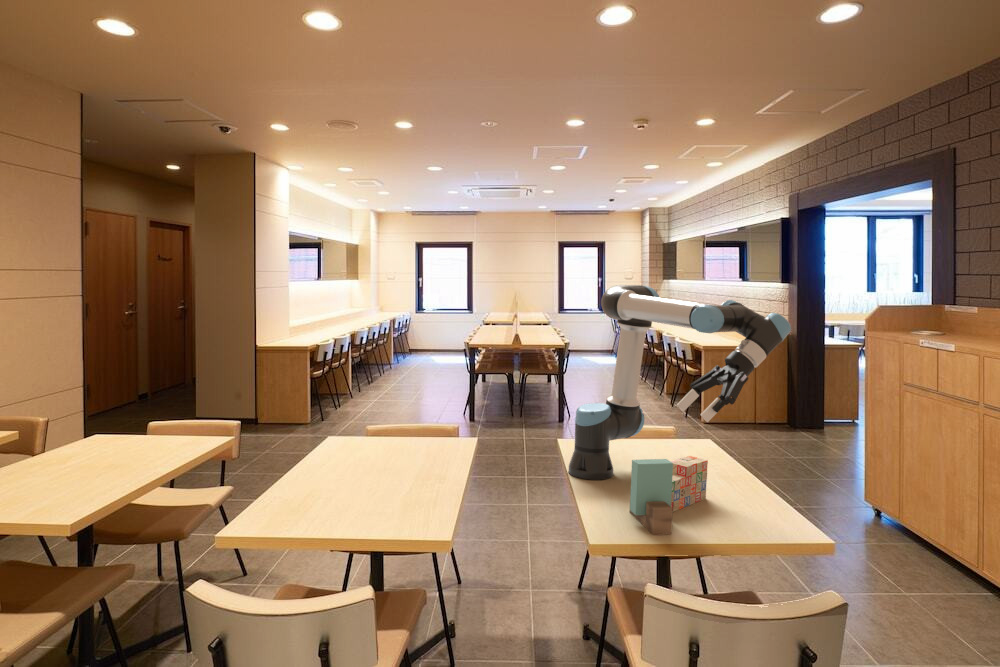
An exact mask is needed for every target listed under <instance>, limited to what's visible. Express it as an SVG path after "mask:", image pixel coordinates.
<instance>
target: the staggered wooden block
mask: <svg viewBox="0 0 1000 667" xmlns="http://www.w3.org/2000/svg"><path fill="white" fill-rule="evenodd" d="M630 495H631V489H630V494H629V496H630ZM629 513H630V514H631V515H632V516H633V517H634V518H635V519H636V520H637V521H638V522H639V523H640V524H641V525H642V526H643V527H644V526H645V527H646V528H647V529H648V530H647V529H646V528H645V527H644V528H645V529H646V530H647V531H649V533H650V534H651V535H653V536H658V535H659V536H660V535H662V536H663V535H671V534H672V526H673V525H672V524H673V512H672V507H671V506H669V505H668V504H667V503H666V502H664V501H656V502H646V515H635V514H634V513H633V512H631V511H630V510H629Z"/></svg>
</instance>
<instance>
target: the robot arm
mask: <svg viewBox="0 0 1000 667" xmlns="http://www.w3.org/2000/svg"><path fill="white" fill-rule="evenodd" d="M600 300H601V301H600V304H601V308H602V311H603V313H604V315H606V316H607V317H608V318H610V319H612V320H616V323H617V325H618V327H620V330H619V331H620V332H619V339H618V346H617V352H616V353H617V354H616V359H615V360H616V361H615V367H614V375H613V383H612V391H611V394H610V395H609V396H608V397H606V402H605V403H602V402H594V403H592V402H591V403H586V404H585V403H584V404H582V405H580V406H578V408H577V409H576V411H575V418H574V449H573V450H574V451H573V452H572V456H571V458H570V461H569V463H568V474H570V475H571V476H573V477H575V478H579V479H584V480H589V481H590V480H599V481H600V480H606V479H610V478H612V477H614V465H613V463H612V459H611V455H610V441H614V440H615V441H616V440H621V439H628V438H631V437H634V436H636V435H638V434H639V433H640V432H641V430H642V429H643V427H644V425H645V414H644V413H643V408H642V407H641V402H640V401H639V400H638V398H637V396H638V389H639V382H640V376H641V368H642V362H643V354H644V349H645V348H644V347H645V342H646V341H645V339H646V333H647V331H648V330H649V329H651V328H652V324H653V323H658V324H663V325H669V326H675V327H680V328H681V327H682V328H686V329H692V330H695V331H697V332H699V333H703V334H704V333H705V334H712V333H732V332H734V333H737V334H739V335H741V336H743V337H745V338H744V339H743V340H741V342H740V344H738V345H737V347H736V348H735V349H734V350H732V351H731V352H730V353H729V354H728V356H726V357H725V358H724V362H725V365H724V366H723V367H721V366H719V365H715V366H714V367H713V368H711V370H710V371H709V370H708V372H707V373H704V375H702V376H701V377H699V378H698V379H696V380H695V381H693V382H691V383H690V385H689V386H690V388H691V389H690V390H689V391H688V392H687V393H686V394H685V395H684V396H683V398H681V399H680V400H679V401H678V402H677V403H676V406H677V407H678V408H679V409H680V410H681V412H685V411H686V410H687V409H688V408H689V407H690V406H691V405H692V404H693V403H694V402H695V401H696V400H697V399H698V398H699V397H700V395H701V393H703V392H706V391H707V390H709V389H712V388H714V387H715V386H721V385H722V388H721V392H720V394H719V395H718V397H716V398H715V399H714V400H713V401H712V402H711V403H710V404H709V405H708V406H707V407H706V408H705V409H704V410H702V412H701V413H700V416H701V418H702V419H703V420H704V421H705V422H706V423H710V420H712V418H713V417H715V415H716V414H718V412H720V411H721V410H722V408H724V407H725V406H727V405H729V404H730V405H731V406H732V405H734V404H735V403H736V401H737V399H738V397H739V395H740V393H741V391H742V389H743V387H744V385H745V384H746V382H747V381H748V380H749V375H751V373H753V371H755V368H757V367H759V366H760V365H761V363H763V362H764V361H765V359H766V358H767V357H768V356H769V355H770V354H771V353H772V352H773V351H774V350H775V349H776V348H777V347H778V346H779V345H781V343H782V342H784V340H785V339H786V337H788V335H789V334H790V333H791V331H792V326H791V323H790V322H789V321H788V319H786V317H784V316H783V315H782V314H780V313H776V312H771V313H769V314H767V315H766V316H764V315H761V314H760V313H758V312H756V311H754V310H752V309H750V308H749V307H747V306H745V305H744V304H743V303H741V302H737V301H735V300H734V299H728V300H726V301H724V302H722V303H721V304H720V305H715V304H714V305H713V304H706V303H699V302H693V301H692V302H691V301H683V300H677V299H670V298H663V297H660V294H658V292H657V291H656V290H655V289H654V288H653V287H651V286H648V285H647V286H646V285H642V284H641V285H640V284H637V285H636V284H634V285H633V284H628V285H627V284H625V285H624V284H617V285H613V286H611V287H609V288H608V289H607V290H605V292H604V293H603V294H602V297H601V299H600Z"/></svg>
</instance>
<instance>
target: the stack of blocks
mask: <svg viewBox="0 0 1000 667" xmlns="http://www.w3.org/2000/svg"><path fill="white" fill-rule="evenodd" d="M670 462H672V463H673V474H672V494H671V507H672V513H673V512H676V511H678V510H681V509H683V508H685V507H688V506H690V505H693V504H695V503H699V502H700V501H704V500H706V497H707V479H708V463H709V462H708V459H705V458H700V457H696V456H693V455H688V456H683V457H680V458H677V459H673V460H671V461H670Z"/></svg>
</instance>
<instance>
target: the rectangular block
mask: <svg viewBox="0 0 1000 667" xmlns="http://www.w3.org/2000/svg"><path fill="white" fill-rule="evenodd" d="M630 474H631V478H630V479H631V480H630V490H631V495H630V494H629V512H630V511H631V512H633V513H634V514H635V515H646V502H656V501H664V502H666V503H667V504H668V505H669V506H671V494H672V474H673V463H672V462H671V461H670V460H669V459H667V458H655V459H653V458H652V459H651V458H650V459H649V458H648V459H645V458H644V459H632V460H631V473H630Z"/></svg>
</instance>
